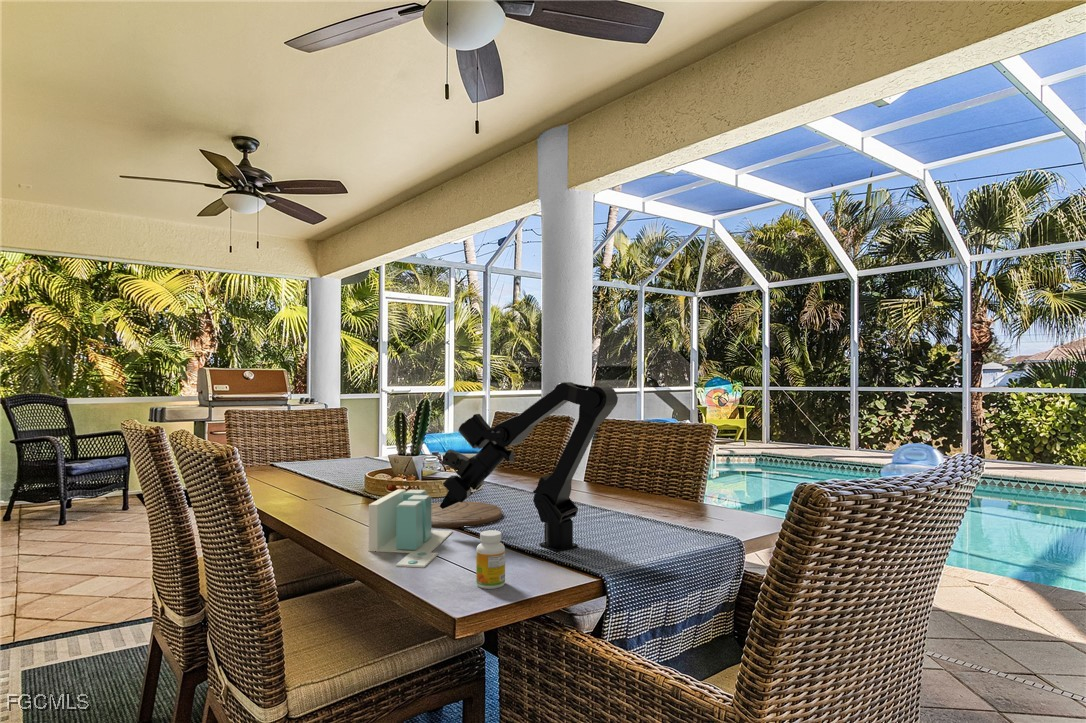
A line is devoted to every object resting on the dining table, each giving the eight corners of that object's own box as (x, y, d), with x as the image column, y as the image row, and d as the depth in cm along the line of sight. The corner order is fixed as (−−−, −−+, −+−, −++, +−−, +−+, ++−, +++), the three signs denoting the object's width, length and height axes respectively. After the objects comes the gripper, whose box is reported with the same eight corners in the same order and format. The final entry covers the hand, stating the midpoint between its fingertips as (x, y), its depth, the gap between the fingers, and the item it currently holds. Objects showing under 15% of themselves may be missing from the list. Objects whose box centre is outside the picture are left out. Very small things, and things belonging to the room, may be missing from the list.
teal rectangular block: (426, 529, 159) (426, 489, 159) (421, 534, 154) (421, 493, 154) (409, 528, 159) (409, 489, 159) (403, 533, 155) (403, 492, 155)
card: (437, 554, 139) (437, 552, 139) (424, 567, 130) (424, 564, 130) (411, 553, 140) (411, 551, 140) (396, 566, 131) (396, 563, 131)
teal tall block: (422, 544, 145) (422, 501, 145) (416, 549, 141) (416, 505, 141) (403, 543, 146) (403, 500, 146) (396, 549, 141) (396, 504, 142)
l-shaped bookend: (452, 532, 158) (452, 490, 158) (429, 553, 140) (429, 506, 140) (398, 530, 160) (398, 489, 160) (368, 551, 142) (368, 504, 142)
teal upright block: (431, 536, 152) (431, 495, 152) (425, 541, 147) (425, 499, 147) (413, 536, 152) (413, 494, 152) (406, 541, 148) (406, 498, 148)
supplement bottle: (473, 581, 122) (473, 530, 122) (500, 578, 124) (500, 528, 124) (480, 591, 117) (480, 537, 117) (508, 587, 119) (508, 535, 119)
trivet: (518, 513, 180) (518, 506, 180) (467, 534, 158) (467, 526, 158) (446, 504, 192) (446, 498, 192) (389, 522, 170) (389, 515, 170)
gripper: (471, 434, 165) (430, 477, 166) (451, 442, 146) (405, 490, 147) (501, 465, 163) (460, 508, 165) (485, 477, 145) (439, 525, 146)
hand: (441, 507), depth 156 cm, fingers closed
